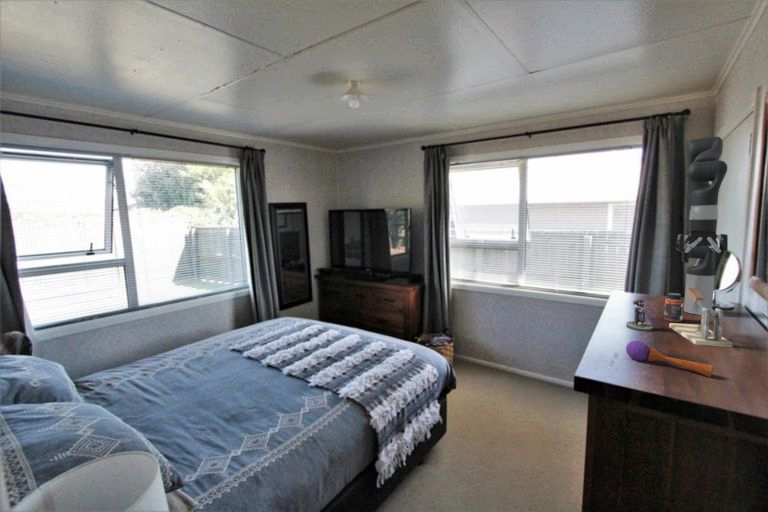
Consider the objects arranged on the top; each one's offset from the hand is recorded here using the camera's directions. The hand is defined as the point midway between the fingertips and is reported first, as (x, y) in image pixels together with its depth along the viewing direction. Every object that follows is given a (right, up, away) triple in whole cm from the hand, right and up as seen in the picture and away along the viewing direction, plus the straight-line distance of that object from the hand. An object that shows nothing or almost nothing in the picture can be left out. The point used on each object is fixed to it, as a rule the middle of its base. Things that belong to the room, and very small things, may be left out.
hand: (699, 262), depth 129 cm
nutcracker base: (-1, -27, -1) cm, 27 cm away
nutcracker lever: (-2, -17, -2) cm, 17 cm away
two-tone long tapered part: (-32, -30, -25) cm, 50 cm away
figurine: (-15, -26, +10) cm, 32 cm away
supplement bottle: (+5, -25, +18) cm, 31 cm away
